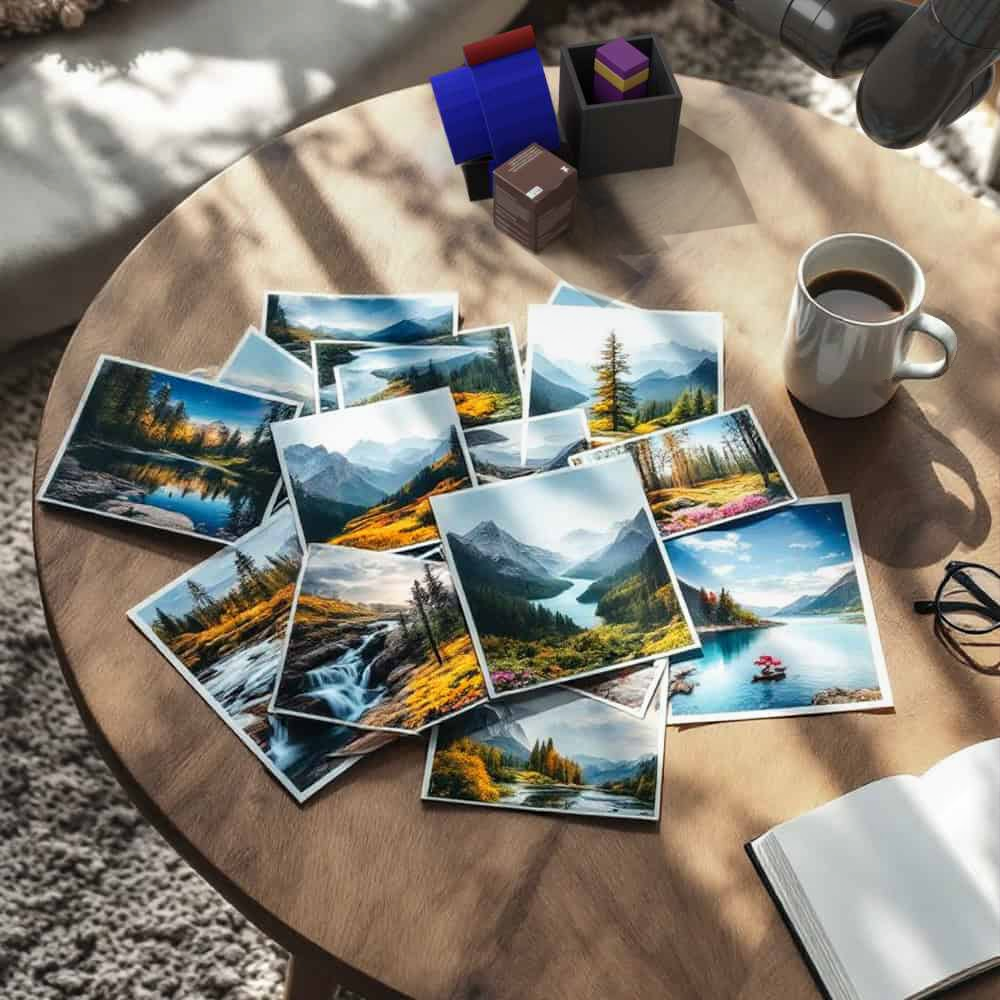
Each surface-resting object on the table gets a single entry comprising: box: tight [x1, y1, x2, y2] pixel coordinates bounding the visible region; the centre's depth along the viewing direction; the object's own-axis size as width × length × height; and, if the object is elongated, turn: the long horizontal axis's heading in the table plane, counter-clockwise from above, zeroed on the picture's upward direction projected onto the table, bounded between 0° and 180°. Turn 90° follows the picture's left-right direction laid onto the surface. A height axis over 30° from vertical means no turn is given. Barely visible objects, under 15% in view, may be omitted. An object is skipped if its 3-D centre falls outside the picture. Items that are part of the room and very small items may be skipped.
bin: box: [557, 33, 684, 179], centre depth 129 cm, size 10×10×9 cm
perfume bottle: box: [593, 36, 649, 105], centre depth 128 cm, size 3×4×10 cm
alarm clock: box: [429, 24, 561, 202], centre depth 125 cm, size 12×12×15 cm
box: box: [492, 142, 578, 255], centre depth 123 cm, size 6×6×7 cm
